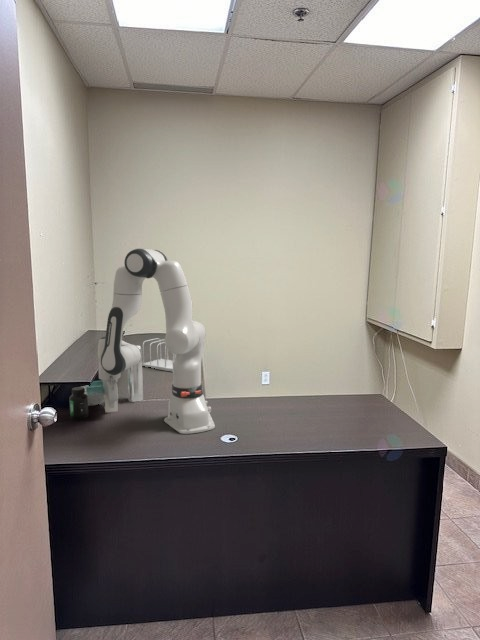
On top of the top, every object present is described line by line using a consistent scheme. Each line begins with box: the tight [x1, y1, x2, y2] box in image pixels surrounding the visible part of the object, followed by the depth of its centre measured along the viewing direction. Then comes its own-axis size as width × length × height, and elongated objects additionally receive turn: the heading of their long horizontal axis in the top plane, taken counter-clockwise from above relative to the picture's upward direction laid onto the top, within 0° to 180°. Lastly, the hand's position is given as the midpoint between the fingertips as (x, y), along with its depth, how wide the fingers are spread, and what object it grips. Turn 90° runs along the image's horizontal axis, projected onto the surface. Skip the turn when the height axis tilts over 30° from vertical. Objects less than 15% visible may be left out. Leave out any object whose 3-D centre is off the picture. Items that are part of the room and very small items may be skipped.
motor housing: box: [80, 379, 106, 407], centre depth 189 cm, size 14×16×8 cm
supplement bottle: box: [68, 386, 89, 421], centre depth 167 cm, size 7×7×12 cm
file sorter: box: [141, 337, 176, 373], centre depth 249 cm, size 25×17×16 cm
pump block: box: [101, 395, 119, 413], centre depth 176 cm, size 5×6×6 cm
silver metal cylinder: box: [127, 344, 144, 403], centre depth 188 cm, size 6×6×25 cm
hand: (110, 405), depth 176 cm, fingers closed on pump block, 5 cm apart
